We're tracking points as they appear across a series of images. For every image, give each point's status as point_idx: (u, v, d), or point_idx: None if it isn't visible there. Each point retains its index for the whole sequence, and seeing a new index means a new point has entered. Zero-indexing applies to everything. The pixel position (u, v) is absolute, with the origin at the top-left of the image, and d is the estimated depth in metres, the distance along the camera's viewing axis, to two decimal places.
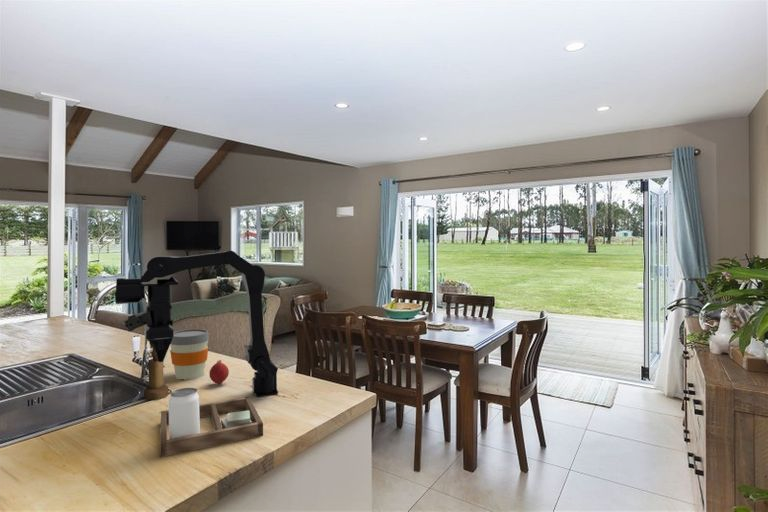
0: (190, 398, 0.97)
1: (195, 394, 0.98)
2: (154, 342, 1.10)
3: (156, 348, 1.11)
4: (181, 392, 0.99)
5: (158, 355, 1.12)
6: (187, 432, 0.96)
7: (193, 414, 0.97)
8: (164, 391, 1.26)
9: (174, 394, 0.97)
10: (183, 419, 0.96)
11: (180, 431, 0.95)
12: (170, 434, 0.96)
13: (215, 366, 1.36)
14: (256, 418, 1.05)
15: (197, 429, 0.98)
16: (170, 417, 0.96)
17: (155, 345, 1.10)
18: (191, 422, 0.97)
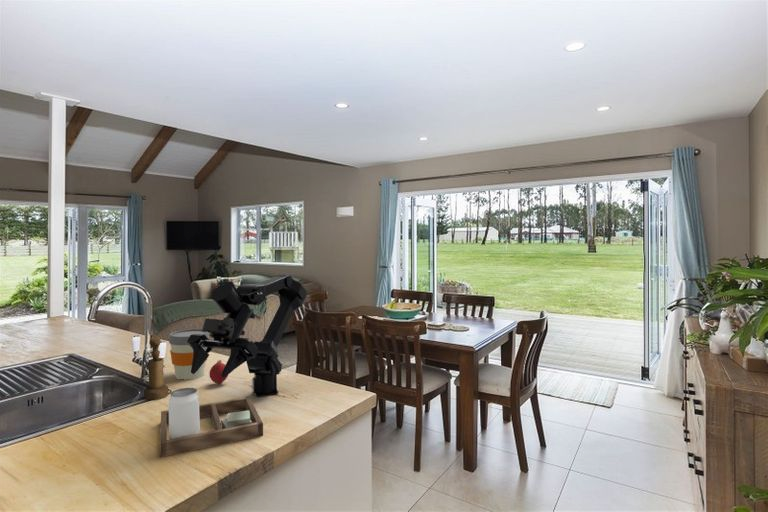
0: (189, 398, 0.97)
1: (195, 394, 0.98)
2: (237, 354, 1.06)
3: (232, 361, 1.06)
4: (181, 392, 0.99)
5: (227, 369, 1.05)
6: (187, 432, 0.96)
7: (193, 414, 0.97)
8: (164, 391, 1.26)
9: (174, 394, 0.97)
10: (183, 419, 0.96)
11: (180, 431, 0.95)
12: (170, 434, 0.96)
13: (215, 366, 1.36)
14: (256, 418, 1.05)
15: (197, 429, 0.98)
16: (170, 417, 0.96)
17: (235, 357, 1.06)
18: (191, 422, 0.97)
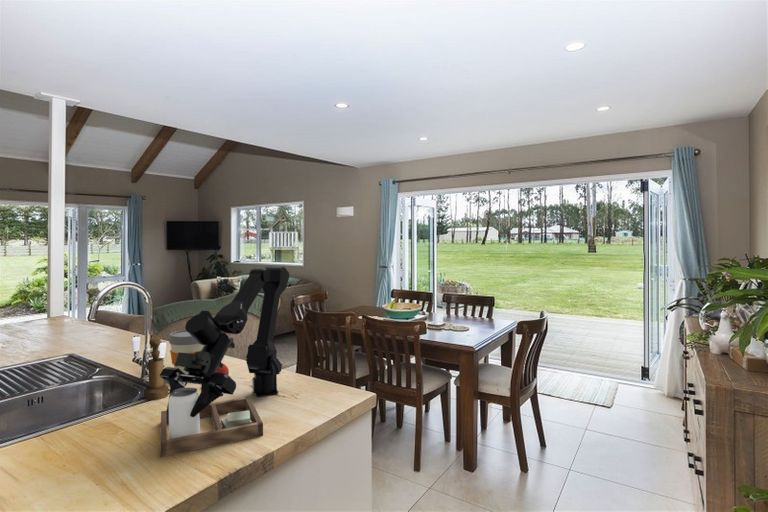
0: (190, 398, 0.97)
1: (195, 394, 0.98)
2: (208, 390, 0.98)
3: (203, 398, 0.98)
4: (181, 392, 0.99)
5: (197, 408, 0.97)
6: (187, 432, 0.96)
7: None
8: (164, 391, 1.26)
9: (174, 394, 0.97)
10: (183, 418, 0.96)
11: (180, 431, 0.95)
12: (170, 434, 0.96)
13: None
14: (256, 418, 1.05)
15: (197, 429, 0.98)
16: (170, 417, 0.96)
17: (205, 394, 0.98)
18: (191, 422, 0.97)
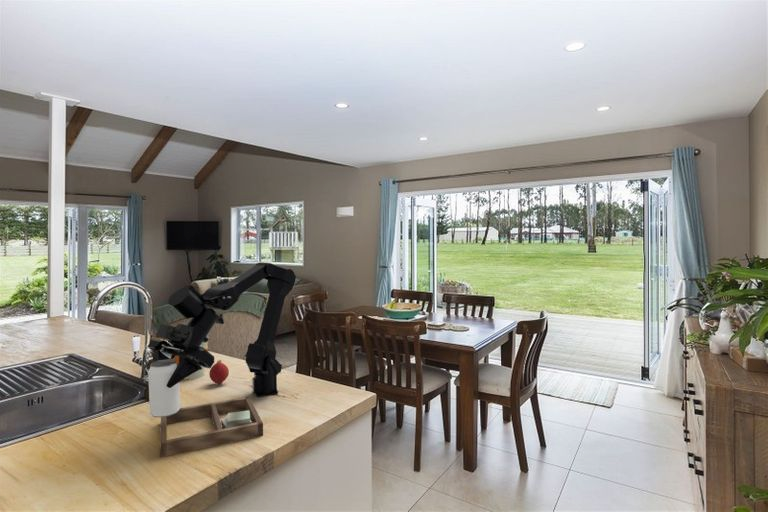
0: (166, 369, 0.98)
1: (173, 366, 1.00)
2: (185, 363, 0.99)
3: (179, 370, 0.99)
4: (162, 363, 1.01)
5: (174, 379, 0.98)
6: (164, 403, 0.98)
7: None
8: None
9: (154, 364, 1.00)
10: (160, 389, 0.97)
11: (157, 401, 0.97)
12: (149, 403, 0.99)
13: (215, 366, 1.36)
14: (256, 418, 1.05)
15: (175, 400, 1.00)
16: (149, 386, 0.98)
17: (182, 366, 0.99)
18: (168, 392, 0.98)
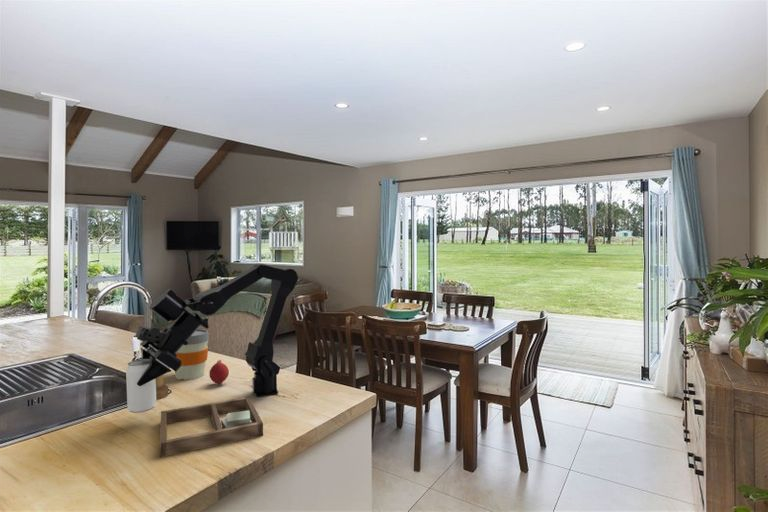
0: (138, 368, 1.05)
1: (146, 366, 1.06)
2: (153, 364, 1.05)
3: (148, 370, 1.05)
4: (140, 362, 1.08)
5: (143, 378, 1.04)
6: (135, 399, 1.05)
7: None
8: (164, 391, 1.26)
9: (133, 363, 1.08)
10: (131, 386, 1.05)
11: (129, 397, 1.05)
12: None
13: (215, 366, 1.36)
14: (256, 418, 1.05)
15: (147, 398, 1.06)
16: None
17: (151, 367, 1.05)
18: (139, 390, 1.05)
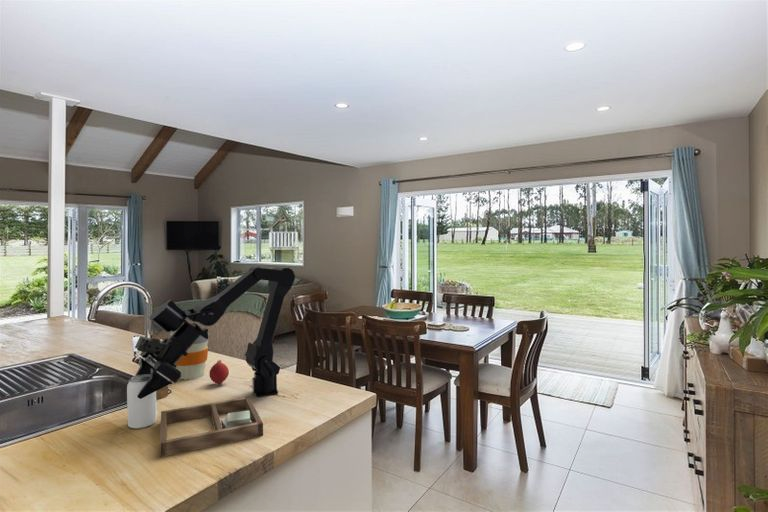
0: (138, 384, 1.05)
1: None
2: (154, 376, 1.04)
3: (149, 383, 1.04)
4: (141, 378, 1.09)
5: (144, 391, 1.04)
6: (135, 416, 1.05)
7: (142, 400, 1.05)
8: (164, 391, 1.26)
9: (134, 378, 1.08)
10: (132, 402, 1.05)
11: (130, 413, 1.05)
12: None
13: (215, 366, 1.36)
14: (256, 418, 1.05)
15: (147, 415, 1.06)
16: None
17: (152, 379, 1.04)
18: (139, 407, 1.05)
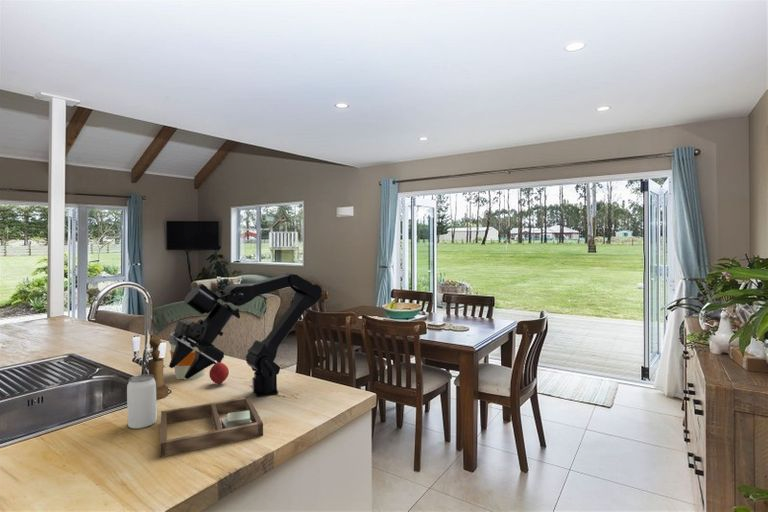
0: (138, 384, 1.05)
1: (146, 382, 1.06)
2: (199, 358, 1.10)
3: (195, 364, 1.10)
4: (141, 378, 1.09)
5: (190, 371, 1.10)
6: (135, 416, 1.05)
7: (142, 400, 1.05)
8: (164, 391, 1.26)
9: (134, 378, 1.08)
10: (132, 402, 1.05)
11: (130, 413, 1.05)
12: None
13: (215, 366, 1.36)
14: (256, 418, 1.05)
15: (147, 415, 1.06)
16: None
17: (197, 361, 1.10)
18: (139, 407, 1.05)
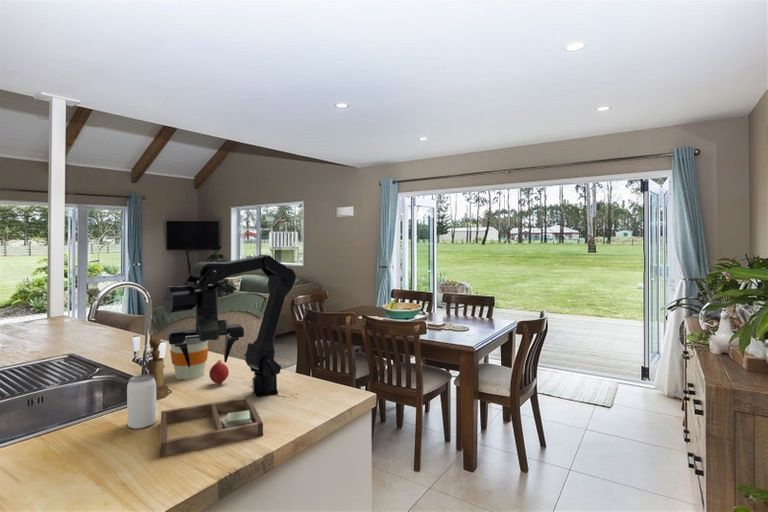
0: (138, 384, 1.05)
1: (146, 382, 1.06)
2: None
3: None
4: (141, 378, 1.09)
5: None
6: (135, 416, 1.05)
7: (142, 400, 1.05)
8: (164, 391, 1.26)
9: (134, 378, 1.08)
10: (132, 402, 1.05)
11: (130, 413, 1.05)
12: None
13: (215, 366, 1.36)
14: (256, 418, 1.05)
15: (147, 415, 1.06)
16: None
17: None
18: (139, 407, 1.05)
